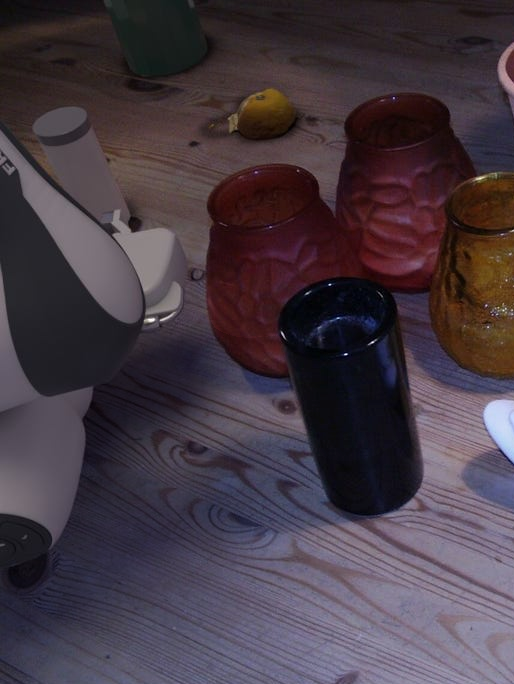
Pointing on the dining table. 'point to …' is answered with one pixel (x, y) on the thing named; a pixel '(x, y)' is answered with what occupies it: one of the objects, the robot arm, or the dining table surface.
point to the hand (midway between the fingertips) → (54, 229)
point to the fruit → (263, 115)
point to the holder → (158, 34)
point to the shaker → (79, 160)
